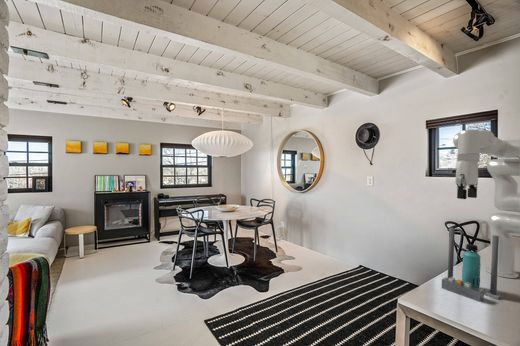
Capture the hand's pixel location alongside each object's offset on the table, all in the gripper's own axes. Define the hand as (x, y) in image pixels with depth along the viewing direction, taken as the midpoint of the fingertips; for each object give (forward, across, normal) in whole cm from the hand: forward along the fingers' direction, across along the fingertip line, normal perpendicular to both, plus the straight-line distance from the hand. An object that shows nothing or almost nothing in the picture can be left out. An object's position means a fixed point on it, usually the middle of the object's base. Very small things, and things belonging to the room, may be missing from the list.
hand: (467, 198), depth 112 cm
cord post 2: (+42, -7, +8) cm, 43 cm away
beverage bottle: (+42, -7, 0) cm, 42 cm away
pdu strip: (+42, +2, 0) cm, 42 cm away
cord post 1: (+42, -7, -8) cm, 43 cm away
